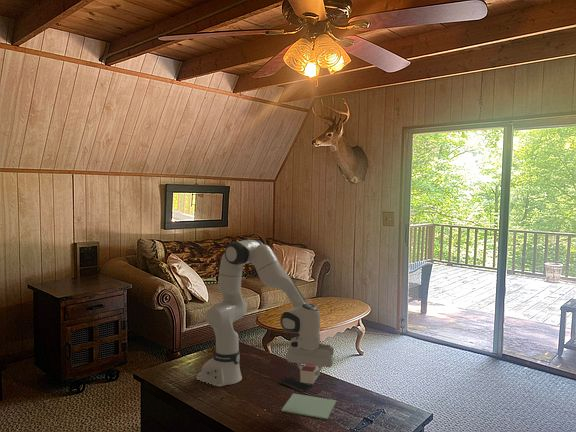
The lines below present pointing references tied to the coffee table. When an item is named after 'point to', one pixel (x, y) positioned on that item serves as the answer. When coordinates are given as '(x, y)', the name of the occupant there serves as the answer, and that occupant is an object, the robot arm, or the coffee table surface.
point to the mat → (309, 406)
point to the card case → (308, 374)
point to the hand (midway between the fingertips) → (309, 374)
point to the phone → (296, 384)
